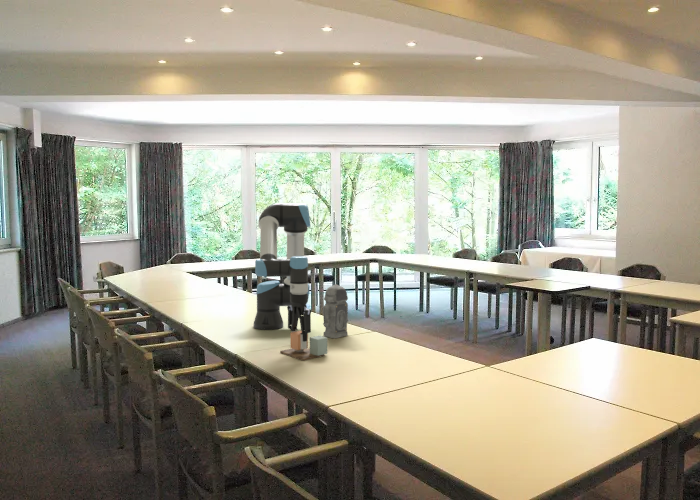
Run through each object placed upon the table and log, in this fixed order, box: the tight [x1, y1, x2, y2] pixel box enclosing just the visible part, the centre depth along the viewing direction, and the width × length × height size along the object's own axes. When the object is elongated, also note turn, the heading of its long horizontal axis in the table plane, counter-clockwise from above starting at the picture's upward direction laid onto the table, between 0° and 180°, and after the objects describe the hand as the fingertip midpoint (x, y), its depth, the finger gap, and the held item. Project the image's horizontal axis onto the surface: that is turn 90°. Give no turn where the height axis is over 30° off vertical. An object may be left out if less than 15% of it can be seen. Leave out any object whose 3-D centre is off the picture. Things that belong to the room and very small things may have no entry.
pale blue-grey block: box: [309, 335, 328, 356], centre depth 232 cm, size 5×5×7 cm
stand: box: [279, 348, 325, 362], centre depth 234 cm, size 16×11×1 cm
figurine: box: [322, 283, 349, 339], centre depth 267 cm, size 10×14×25 cm
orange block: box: [289, 330, 309, 350], centre depth 235 cm, size 5×5×7 cm
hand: (299, 347), depth 236 cm, fingers closed on orange block, 5 cm apart
